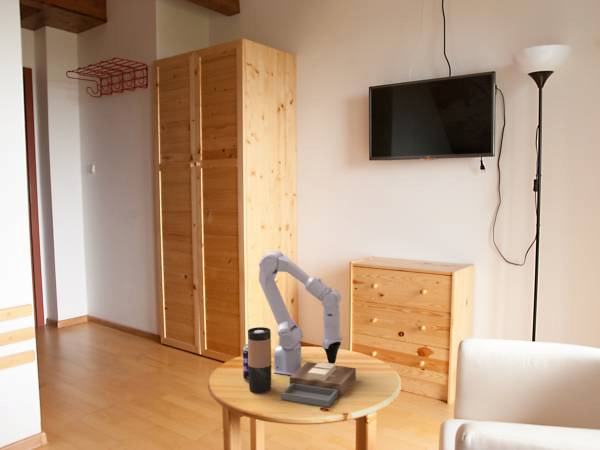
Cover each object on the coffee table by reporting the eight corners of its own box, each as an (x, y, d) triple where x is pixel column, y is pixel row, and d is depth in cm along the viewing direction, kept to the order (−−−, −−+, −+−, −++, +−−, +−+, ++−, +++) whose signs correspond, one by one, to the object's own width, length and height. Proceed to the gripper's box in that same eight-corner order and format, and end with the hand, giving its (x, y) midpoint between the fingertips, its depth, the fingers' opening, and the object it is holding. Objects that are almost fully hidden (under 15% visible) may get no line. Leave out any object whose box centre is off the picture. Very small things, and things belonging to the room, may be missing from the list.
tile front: (307, 378, 168) (307, 372, 168) (312, 373, 172) (312, 367, 172) (325, 380, 166) (325, 374, 166) (329, 375, 170) (329, 370, 170)
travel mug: (275, 386, 172) (274, 328, 170) (266, 395, 165) (265, 334, 163) (254, 383, 174) (253, 326, 173) (244, 392, 167) (243, 332, 166)
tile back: (314, 372, 174) (314, 366, 174) (319, 367, 178) (319, 362, 178) (331, 374, 171) (331, 368, 171) (335, 370, 176) (335, 364, 175)
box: (280, 400, 161) (280, 393, 161) (292, 389, 169) (292, 383, 169) (328, 407, 155) (328, 400, 154) (338, 396, 163) (338, 389, 163)
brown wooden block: (289, 388, 170) (289, 377, 169) (307, 372, 184) (307, 361, 184) (341, 396, 163) (341, 384, 162) (355, 379, 177) (355, 368, 177)
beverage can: (243, 376, 181) (243, 343, 180) (259, 376, 182) (259, 343, 181) (243, 382, 176) (242, 348, 175) (259, 382, 176) (259, 347, 175)
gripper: (335, 331, 172) (336, 370, 173) (348, 321, 185) (348, 357, 186) (316, 329, 175) (316, 368, 176) (330, 319, 188) (330, 355, 189)
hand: (331, 362), depth 181 cm, fingers closed
